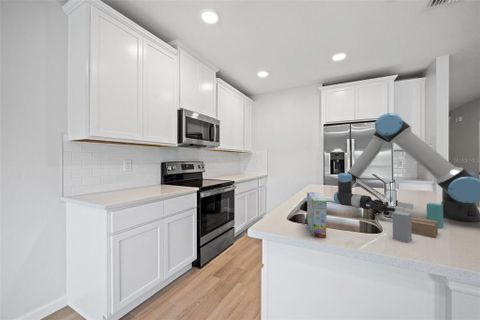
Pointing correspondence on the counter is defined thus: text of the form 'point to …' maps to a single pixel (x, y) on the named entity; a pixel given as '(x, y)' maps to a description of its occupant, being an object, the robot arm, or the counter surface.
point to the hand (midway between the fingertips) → (408, 208)
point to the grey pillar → (402, 226)
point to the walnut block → (424, 227)
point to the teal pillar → (435, 213)
